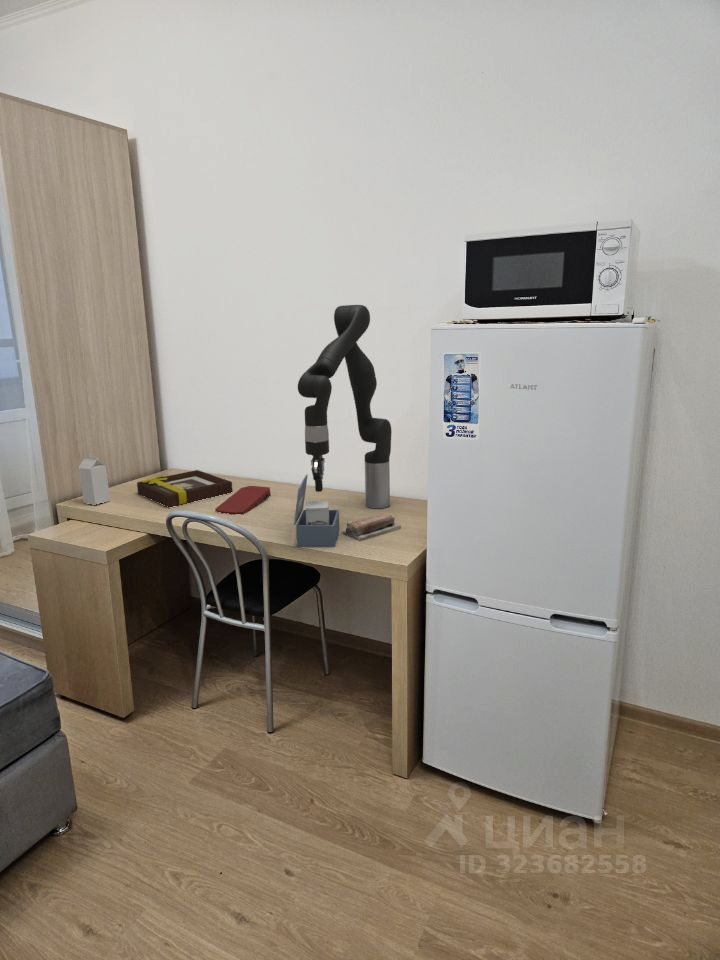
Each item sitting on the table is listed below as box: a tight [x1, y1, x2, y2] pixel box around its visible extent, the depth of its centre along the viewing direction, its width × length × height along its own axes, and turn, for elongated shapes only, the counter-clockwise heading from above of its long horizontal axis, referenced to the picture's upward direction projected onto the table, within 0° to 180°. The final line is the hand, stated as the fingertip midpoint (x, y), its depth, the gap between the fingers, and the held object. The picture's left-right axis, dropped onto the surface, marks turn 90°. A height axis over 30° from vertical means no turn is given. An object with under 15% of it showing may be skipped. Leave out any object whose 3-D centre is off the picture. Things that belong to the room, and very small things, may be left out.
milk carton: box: [78, 455, 111, 506], centre depth 251 cm, size 7×7×19 cm
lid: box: [293, 474, 309, 526], centre depth 206 cm, size 16×12×1 cm
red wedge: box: [214, 485, 272, 515], centre depth 247 cm, size 12×5×25 cm
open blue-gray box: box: [295, 509, 341, 548], centre depth 209 cm, size 16×12×7 cm
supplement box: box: [305, 500, 330, 525], centre depth 205 cm, size 7×7×13 cm
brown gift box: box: [136, 469, 233, 508], centre depth 263 cm, size 28×7×30 cm
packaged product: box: [341, 513, 402, 542], centre depth 214 cm, size 18×5×10 cm
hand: (319, 491), depth 207 cm, fingers closed
